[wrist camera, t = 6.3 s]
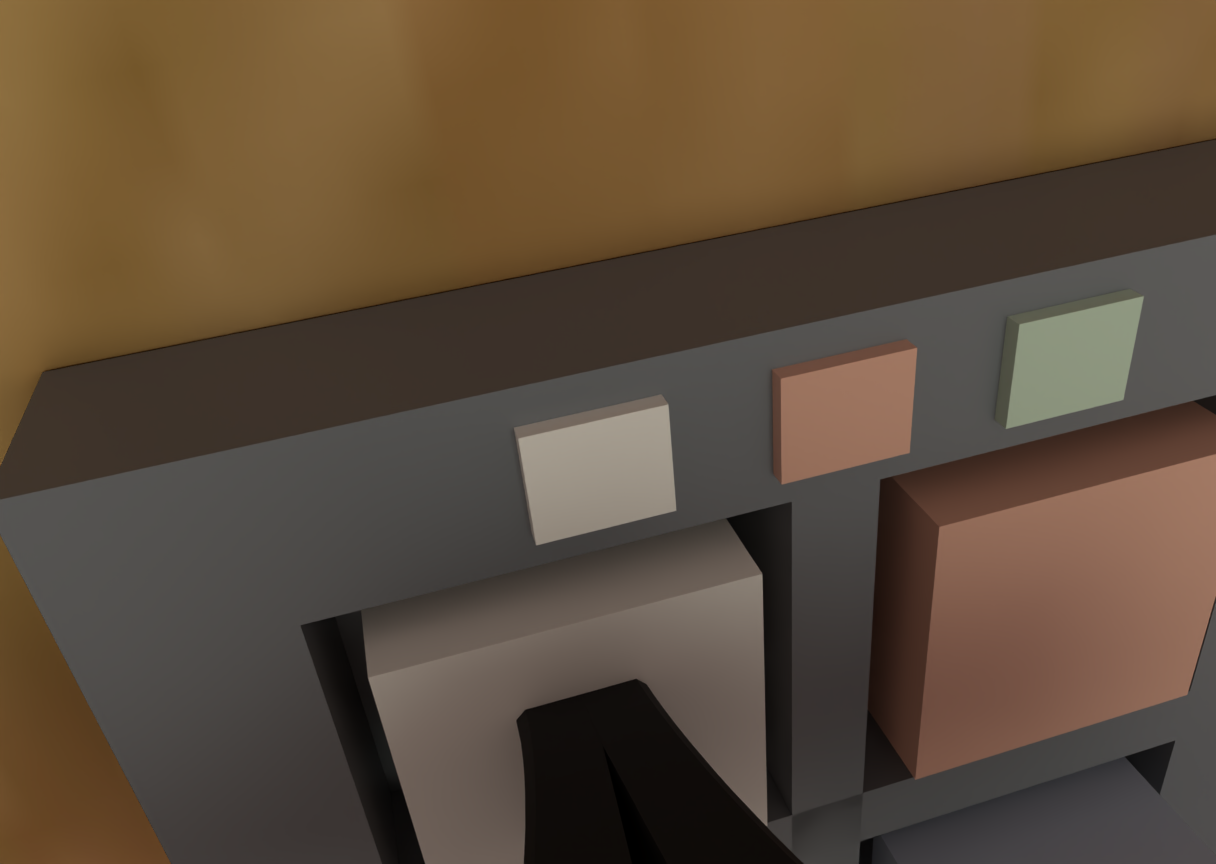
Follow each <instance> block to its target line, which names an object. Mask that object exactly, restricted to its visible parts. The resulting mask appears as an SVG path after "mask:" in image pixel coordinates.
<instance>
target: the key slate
mask: <svg viewBox="0 0 1216 864" xmlns="http://www.w3.org/2000/svg"><path fill="white" fill-rule="evenodd" d="M872 864H1216V856H1215V855H1214V853H1213V852H1212V851H1211V850H1210V849H1209V848H1208V847H1207V846H1206V845H1205V844H1204V843H1203V842H1202V840H1201V839H1200V838H1199V837H1198V836H1197V835H1196V834H1195V833H1194V832H1193V831H1192V830H1191V828H1190V827H1189V826H1188V825H1187V824H1186V823H1185V822H1184V821H1183V820H1182V819H1181V818H1180V816H1179V815H1178V814H1177V813H1176V812H1175V811H1174V810H1173V809H1172V808H1171V807H1170V806H1169V804H1168V803H1167V802H1166V801H1165V800H1164V799H1163V798H1162V797H1161V796H1160V795H1159V794H1158V793H1157V791H1156V790H1155V789H1154V788H1153V787H1152V786H1151V785H1150V784H1149V783H1148V782H1147V781H1146V779H1145V778H1144V777H1143V776H1142V775H1141V774H1140V773H1139V772H1138V771H1137V770H1136V769H1135V767H1134V766H1133V765H1132V764H1131V763H1130V762H1129V761H1128V760H1127V759H1126V758H1125V757H1122V758H1119V759H1115V760H1112V761H1109V762H1106V763H1103V764H1100V765H1097V766H1094V767H1091V768H1087V769H1084V770H1081V771H1078V772H1075V773H1072V774H1069V775H1066V776H1063V777H1059V778H1056V779H1053V780H1050V781H1047V782H1044V783H1041V784H1038V785H1034V786H1031V787H1028V788H1025V789H1022V790H1019V791H1016V792H1013V793H1010V794H1006V795H1003V796H1000V797H997V798H994V799H991V800H988V801H985V802H981V803H978V804H975V805H972V806H969V807H966V808H963V809H960V810H957V811H953V812H950V813H947V814H944V815H941V816H938V817H935V818H932V819H928V820H925V821H922V822H919V823H916V824H913V825H910V826H907V827H904V828H900V829H897V830H894V831H891V832H888V833H885V834H882V835H879V836H876V837H873V851H872Z"/></svg>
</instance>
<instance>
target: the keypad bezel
mask: <svg viewBox="0 0 1216 864" xmlns="http://www.w3.org/2000/svg"><path fill="white" fill-rule="evenodd" d="M1190 401H1194V402H1196V403H1197V404H1199V405H1201V406H1202V407H1204V408H1205V409H1207V410H1209V411H1210V412H1212V413H1214V414H1215V415H1216V140H1211V141H1206V142H1201V143H1196V144H1191V145H1186V146H1181V147H1176V148H1171V149H1166V150H1161V151H1156V152H1151V153H1146V154H1141V155H1136V156H1131V157H1126V158H1120V159H1115V160H1110V161H1105V162H1100V163H1095V164H1090V165H1085V166H1080V167H1075V168H1070V169H1065V170H1060V171H1055V172H1050V173H1045V174H1040V175H1035V176H1030V177H1025V178H1020V179H1015V180H1010V181H1005V182H999V183H994V184H989V185H984V186H979V187H974V188H969V189H964V190H959V191H954V192H949V193H944V194H939V195H934V196H929V197H924V198H919V199H914V200H909V201H904V202H899V203H894V204H889V205H883V206H878V207H873V208H868V209H863V210H858V211H853V212H848V213H843V214H838V215H833V216H828V217H823V218H818V219H813V220H808V221H803V222H798V223H793V224H788V225H783V226H778V227H773V228H768V229H762V230H757V231H752V232H747V233H742V234H737V235H732V236H727V237H722V238H717V239H712V240H707V241H702V242H697V243H692V244H687V245H682V246H677V247H672V248H667V249H662V250H657V251H652V252H646V253H641V254H636V255H631V256H626V257H621V258H616V259H611V260H606V261H601V262H596V263H591V264H586V265H581V266H576V267H571V268H566V269H561V270H556V271H551V272H546V273H541V274H536V275H530V276H525V277H520V278H515V279H510V280H505V281H500V282H495V283H490V284H485V285H480V286H475V287H470V288H465V289H460V290H455V291H450V292H445V293H440V294H435V295H430V296H425V297H420V298H415V299H409V300H404V301H399V302H394V303H389V304H384V305H379V306H374V307H369V308H364V309H359V310H354V311H349V312H344V313H339V314H334V315H329V316H324V317H319V318H314V319H309V320H304V321H299V322H293V323H288V324H283V325H278V326H273V327H268V328H263V329H258V330H253V331H248V332H243V333H238V334H233V335H228V336H223V337H218V338H213V339H208V340H203V341H198V342H193V343H188V344H183V345H178V346H172V347H167V348H162V349H157V350H152V351H147V352H142V353H137V354H132V355H127V356H122V357H117V358H112V359H107V360H102V361H97V362H92V363H87V364H82V365H77V366H72V367H67V368H62V369H56V370H51V371H46V372H42V375H41V377H40V379H39V381H38V384H37V386H36V388H35V390H34V393H33V395H32V397H31V399H30V401H29V404H28V406H27V408H26V410H25V413H24V415H23V417H22V419H21V422H20V424H19V426H18V428H17V431H16V433H15V435H14V437H13V439H12V442H11V444H10V446H9V448H8V451H7V453H6V455H5V457H4V460H3V462H2V464H1V466H0V535H1V537H2V539H3V541H4V543H5V545H6V547H7V549H8V551H9V552H10V554H11V556H12V558H13V560H14V562H15V564H16V566H17V568H18V570H19V572H20V574H21V576H22V577H23V579H24V581H25V583H26V585H27V587H28V589H29V591H30V593H31V595H32V597H33V599H34V601H35V602H36V604H37V606H38V608H39V610H40V612H41V614H42V616H43V618H44V620H45V622H46V624H47V626H48V628H49V629H50V631H51V633H52V635H53V637H54V639H55V641H56V643H57V645H58V647H59V649H60V651H61V653H62V654H63V656H64V658H65V660H66V662H67V664H68V666H69V668H70V670H71V672H72V674H73V676H74V678H75V679H76V681H77V683H78V685H79V687H80V689H81V691H82V693H83V695H84V697H85V699H86V701H87V703H88V704H89V706H90V708H91V710H92V712H93V714H94V716H95V718H96V720H97V722H98V724H99V726H100V728H101V729H102V731H103V733H104V735H105V737H106V739H107V741H108V743H109V745H110V747H111V749H112V751H113V753H114V755H115V756H116V758H117V760H118V762H119V764H120V766H121V768H122V770H123V772H124V774H125V776H126V778H127V780H128V781H129V783H130V785H131V787H132V789H133V791H134V793H135V795H136V797H137V799H138V801H139V803H140V805H141V806H142V808H143V810H144V812H145V814H146V816H147V818H148V820H149V822H150V824H151V826H152V828H153V830H154V831H155V833H156V835H157V837H158V839H159V841H160V843H161V845H162V847H163V849H164V851H165V853H166V855H167V856H168V858H169V860H170V862H171V864H425V862H424V858H423V855H422V852H421V849H420V845H419V842H418V839H417V836H416V832H415V829H414V826H413V823H412V819H411V816H410V813H409V810H408V806H407V803H406V800H405V797H404V793H403V790H402V787H401V784H400V780H399V777H398V774H397V771H396V767H395V764H394V761H393V758H392V754H391V751H390V748H389V745H388V741H387V738H386V735H385V732H384V728H383V725H382V722H381V719H380V715H379V712H378V709H377V706H376V702H375V699H374V696H373V693H372V689H371V686H370V683H369V680H368V673H367V663H366V653H365V644H364V634H363V624H362V615H361V610H363V609H367V608H371V607H375V606H379V605H383V604H387V603H391V602H395V601H399V600H403V599H407V598H411V597H415V596H419V595H423V594H427V593H431V592H435V591H439V590H443V589H447V588H451V587H455V586H458V585H462V584H466V583H470V582H474V581H478V580H482V579H486V578H490V577H494V576H498V575H502V574H506V573H510V572H514V571H518V570H522V569H526V568H530V567H534V566H538V565H542V564H546V563H550V562H554V561H558V560H562V559H566V558H570V557H574V556H578V555H582V554H586V553H590V552H594V551H598V550H602V549H606V548H610V547H614V546H617V545H621V544H625V543H629V542H633V541H637V540H641V539H645V538H649V537H653V536H657V535H661V534H665V533H669V532H673V531H677V530H681V529H685V528H689V527H693V526H697V525H701V524H705V523H709V522H713V521H717V520H721V519H725V518H726V519H727V520H728V522H729V524H730V525H731V527H732V528H733V530H734V531H735V533H736V534H737V536H738V537H739V539H740V540H741V542H742V543H743V545H744V546H745V548H746V550H747V551H748V553H749V554H750V556H751V557H752V559H753V560H754V562H755V563H756V565H757V566H758V568H759V569H760V571H761V572H762V579H763V628H764V677H765V726H766V775H767V824H768V826H767V827H768V828H769V830H770V831H771V832H772V833H773V834H774V835H775V836H776V837H777V838H778V839H779V840H780V841H781V842H782V843H783V844H784V845H785V846H786V847H787V848H788V849H789V850H790V851H791V852H792V853H793V854H794V855H795V856H796V857H797V858H798V859H799V860H801V861H802V862H803V863H804V864H872V851H873V837H876V836H879V835H882V834H885V833H888V832H891V831H894V830H897V829H900V828H904V827H907V826H910V825H913V824H916V823H919V822H922V821H925V820H928V819H932V818H935V817H938V816H941V815H944V814H947V813H950V812H953V811H957V810H960V809H963V808H966V807H969V806H972V805H975V804H978V803H981V802H985V801H988V800H991V799H994V798H997V797H1000V796H1003V795H1006V794H1010V793H1013V792H1016V791H1019V790H1022V789H1025V788H1028V787H1031V786H1034V785H1038V784H1041V783H1044V782H1047V781H1050V780H1053V779H1056V778H1059V777H1063V776H1066V775H1069V774H1072V773H1075V772H1078V771H1081V770H1084V769H1087V768H1091V767H1094V766H1097V765H1100V764H1103V763H1106V762H1109V761H1112V760H1115V759H1119V758H1122V757H1125V758H1126V759H1127V760H1128V761H1129V762H1130V763H1131V764H1132V765H1133V766H1134V767H1135V769H1136V770H1137V771H1138V772H1139V773H1140V774H1141V775H1142V776H1143V777H1144V778H1145V779H1146V781H1147V782H1148V783H1149V784H1150V785H1151V786H1152V787H1153V788H1154V789H1155V790H1156V791H1157V793H1158V794H1159V795H1160V796H1161V797H1162V798H1163V799H1164V800H1165V801H1166V802H1167V803H1168V804H1169V806H1170V807H1171V808H1172V809H1173V810H1174V811H1175V812H1176V813H1177V814H1178V815H1179V816H1180V818H1181V819H1182V820H1183V821H1184V822H1185V823H1186V824H1187V825H1188V826H1189V827H1190V828H1191V830H1192V831H1193V832H1194V833H1195V834H1196V835H1197V836H1198V837H1199V838H1200V839H1201V840H1202V842H1203V843H1204V844H1205V845H1206V846H1207V847H1208V848H1209V849H1210V850H1211V851H1212V852H1213V853H1214V855H1215V856H1216V597H1215V601H1214V604H1213V607H1212V611H1211V614H1210V618H1209V621H1208V625H1207V628H1206V632H1205V635H1204V639H1203V642H1202V646H1201V649H1200V652H1199V656H1198V659H1197V663H1196V666H1195V670H1194V673H1193V677H1192V680H1191V684H1190V687H1189V690H1188V694H1187V695H1185V696H1182V697H1179V698H1176V699H1172V700H1169V701H1166V702H1163V703H1160V704H1156V705H1153V706H1150V707H1147V708H1144V709H1140V710H1137V711H1134V712H1131V713H1128V714H1124V715H1121V716H1118V717H1115V718H1112V719H1108V720H1105V721H1102V722H1099V723H1096V724H1092V725H1089V726H1086V727H1083V728H1080V729H1076V730H1073V731H1070V732H1067V733H1064V734H1060V735H1057V736H1054V737H1051V738H1048V739H1044V740H1041V741H1038V742H1035V743H1032V744H1028V745H1025V746H1022V747H1019V748H1016V749H1012V750H1009V751H1006V752H1003V753H1000V754H996V755H993V756H990V757H987V758H984V759H980V760H977V761H974V762H971V763H968V764H964V765H961V766H958V767H955V768H952V769H948V770H945V771H942V772H939V773H936V774H932V775H929V776H926V777H923V778H919V779H916V780H915V779H914V777H913V776H912V774H911V773H910V771H909V770H908V768H907V767H906V765H905V764H904V762H903V761H902V759H901V758H900V756H899V755H898V753H897V752H896V750H895V749H894V747H893V746H892V745H891V743H890V742H889V740H888V739H887V737H886V736H885V734H884V733H883V731H882V730H881V728H880V727H879V725H878V724H877V722H876V721H875V719H874V718H873V716H872V715H871V713H870V712H869V710H868V691H869V673H870V655H871V637H872V619H873V601H874V582H875V564H876V546H877V528H878V510H879V492H880V479H884V478H888V477H892V476H896V475H900V474H904V473H908V472H912V471H916V470H920V469H924V468H928V467H932V466H935V465H939V464H943V463H947V462H951V461H955V460H959V459H963V458H967V457H971V456H975V455H979V454H983V453H987V452H991V451H995V450H999V449H1003V448H1007V447H1011V446H1015V445H1019V444H1023V443H1027V442H1031V441H1035V440H1039V439H1043V438H1047V437H1051V436H1055V435H1059V434H1063V433H1067V432H1071V431H1075V430H1079V429H1083V428H1087V427H1091V426H1094V425H1098V424H1102V423H1106V422H1110V421H1114V420H1118V419H1122V418H1126V417H1130V416H1134V415H1138V414H1142V413H1146V412H1150V411H1154V410H1158V409H1162V408H1166V407H1170V406H1174V405H1178V404H1182V403H1186V402H1190Z"/></svg>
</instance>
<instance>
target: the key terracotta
mask: <svg viewBox="0 0 1216 864" xmlns="http://www.w3.org/2000/svg"><path fill="white" fill-rule="evenodd" d="M1215 597H1216V415H1215V414H1214V413H1212V412H1210V411H1209V410H1207V409H1205V408H1204V407H1202V406H1201V405H1199V404H1197V403H1196V402H1194V401H1190V402H1186V403H1182V404H1178V405H1174V406H1170V407H1166V408H1162V409H1158V410H1154V411H1150V412H1146V413H1142V414H1138V415H1134V416H1130V417H1126V418H1122V419H1118V420H1114V421H1110V422H1106V423H1102V424H1098V425H1094V426H1091V427H1087V428H1083V429H1079V430H1075V431H1071V432H1067V433H1063V434H1059V435H1055V436H1051V437H1047V438H1043V439H1039V440H1035V441H1031V442H1027V443H1023V444H1019V445H1015V446H1011V447H1007V448H1003V449H999V450H995V451H991V452H987V453H983V454H979V455H975V456H971V457H967V458H963V459H959V460H955V461H951V462H947V463H943V464H939V465H935V466H932V467H928V468H924V469H920V470H916V471H912V472H908V473H904V474H900V475H896V476H892V477H888V478H884V479H880V492H879V510H878V528H877V546H876V564H875V582H874V601H873V619H872V637H871V655H870V673H869V691H868V710H869V712H870V713H871V715H872V716H873V718H874V719H875V721H876V722H877V724H878V725H879V727H880V728H881V730H882V731H883V733H884V734H885V736H886V737H887V739H888V740H889V742H890V743H891V745H892V746H893V747H894V749H895V750H896V752H897V753H898V755H899V756H900V758H901V759H902V761H903V762H904V764H905V765H906V767H907V768H908V770H909V771H910V773H911V774H912V776H913V777H914V779H915V780H916V779H919V778H923V777H926V776H929V775H932V774H936V773H939V772H942V771H945V770H948V769H952V768H955V767H958V766H961V765H964V764H968V763H971V762H974V761H977V760H980V759H984V758H987V757H990V756H993V755H996V754H1000V753H1003V752H1006V751H1009V750H1012V749H1016V748H1019V747H1022V746H1025V745H1028V744H1032V743H1035V742H1038V741H1041V740H1044V739H1048V738H1051V737H1054V736H1057V735H1060V734H1064V733H1067V732H1070V731H1073V730H1076V729H1080V728H1083V727H1086V726H1089V725H1092V724H1096V723H1099V722H1102V721H1105V720H1108V719H1112V718H1115V717H1118V716H1121V715H1124V714H1128V713H1131V712H1134V711H1137V710H1140V709H1144V708H1147V707H1150V706H1153V705H1156V704H1160V703H1163V702H1166V701H1169V700H1172V699H1176V698H1179V697H1182V696H1185V695H1187V694H1188V690H1189V687H1190V684H1191V680H1192V677H1193V673H1194V670H1195V666H1196V663H1197V659H1198V656H1199V652H1200V649H1201V646H1202V642H1203V639H1204V635H1205V632H1206V628H1207V625H1208V621H1209V618H1210V614H1211V611H1212V607H1213V604H1214V601H1215Z"/></svg>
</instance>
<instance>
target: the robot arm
mask: <svg viewBox="0 0 1216 864" xmlns="http://www.w3.org/2000/svg"><path fill="white" fill-rule="evenodd" d="M516 722H517V727H518V732H519V736H520V741H521V748H522V756H523V766H524V781H525V845H524V864H804V863H803V862H802V861H801V860H799V859H798V858H797V857H796V856H795V855H794V854H793V853H792V852H791V851H790V850H789V849H788V848H787V847H786V846H785V845H784V844H783V843H782V842H781V841H780V840H779V839H778V838H777V837H776V836H775V835H774V834H773V833H772V832H771V831H770V830H769V828H768V827H767V826H766V825H765V824H764V823H763V822H762V821H761V820H760V819H759V818H758V817H757V816H756V815H755V814H754V813H753V812H752V811H751V810H750V808H749V807H748V806H747V805H746V804H745V803H744V802H743V801H742V800H741V799H740V798H739V797H738V796H737V795H736V794H735V793H734V792H733V791H732V790H731V788H730V787H729V786H728V785H727V784H726V783H725V782H724V781H723V779H722V778H721V777H720V776H719V775H718V774H717V773H716V772H715V771H714V769H713V768H712V767H711V766H710V765H709V764H708V762H707V761H706V760H705V759H704V758H703V756H702V755H701V754H700V753H699V752H698V751H697V749H696V748H695V747H694V746H693V745H692V744H691V742H690V741H689V740H688V739H687V737H686V736H685V735H684V734H683V732H682V731H681V730H680V729H679V728H678V726H677V725H676V724H675V722H674V721H673V720H672V719H671V717H670V716H669V715H668V713H667V712H666V711H665V709H664V708H663V707H662V705H661V704H660V703H659V701H658V700H657V698H656V697H655V696H654V694H653V693H652V691H651V690H650V688H649V687H648V685H647V684H645V683H643V682H642V681H640V680H638V679H634V680H630V681H626V682H623V683H619V684H616V685H612V686H609V687H605V688H602V689H598V690H594V691H591V692H587V693H584V694H580V695H576V696H573V697H569V698H566V699H562V700H558V701H555V702H551V703H548V704H544V705H540V706H537V707H533V708H530V709H526V710H524V712H523V713H522V714H521V715H520V716H519V718H518V719H517V720H516Z"/></svg>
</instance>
